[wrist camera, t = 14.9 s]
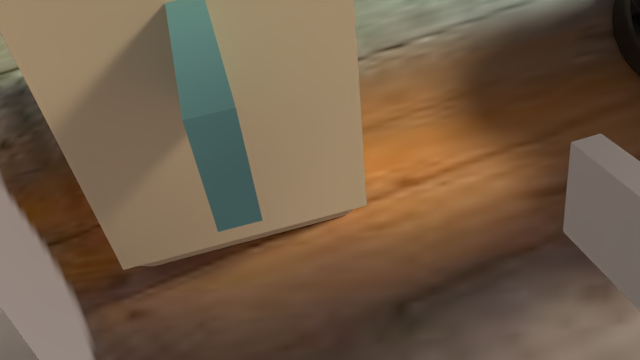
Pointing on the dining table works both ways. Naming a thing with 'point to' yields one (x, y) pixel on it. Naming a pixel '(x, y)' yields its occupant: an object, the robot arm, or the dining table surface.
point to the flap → (197, 113)
